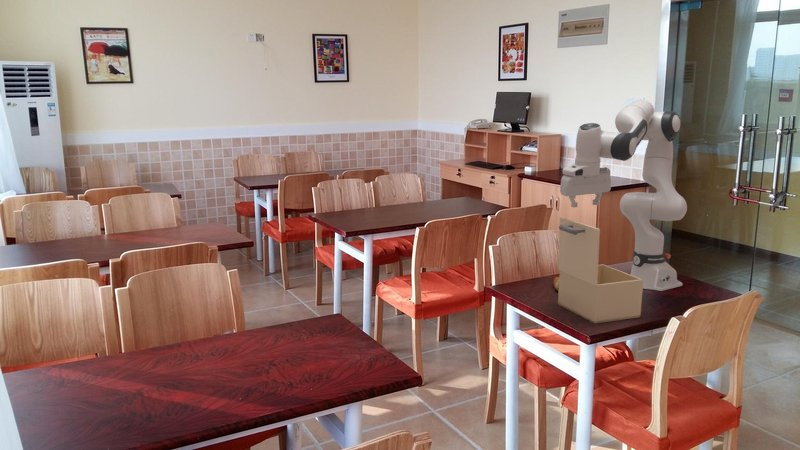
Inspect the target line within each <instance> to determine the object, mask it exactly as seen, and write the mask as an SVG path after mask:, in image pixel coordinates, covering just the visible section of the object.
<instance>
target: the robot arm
mask: <svg viewBox="0 0 800 450" xmlns="http://www.w3.org/2000/svg"><path fill="white" fill-rule="evenodd" d="M681 122H682V121H681V117H680V115H679V114H678V113H677V112H675V111H671V110H666V111H655V108H654V105H653V104H652V103H651V102H650V101H648V100H645V99H639V100H635V101H634V102H632V103H629V104H627V105H626V106H625V107H623V108H622V109H621V110H620V111H619V112H617V114H616V116H615V120H614V124H615V128H616V130H617V132H615V131H604V130H603V129H602V127H601V124H599V123H596V122H590V123H589V122H588V123H584V124H581V125H579V127H578V129H577V135H576V139H575V140H576V141H575V152H576V156H575V158H574V163H572V164H570V165H568V166H565V167H563V169H562V170H561V171H562V174H563V175H562V177H561V180H560V186H559V187H560V188H559V189H560V190H559V192H560V194H561V196H564V197H568V199H569V200H570V203H571V204H570V205H571V208H573V209H574V208H578V204H579V203H578V202H577V201H576V200H575V199H576V198H577V197H576V196H585V195H592V194H593V195H595V197H594V199H592V206H599V204H600V200H601V198H602V197H603V194H605V193H609V192H610V191H611V189H612V181H611V180H612V178H611V170H610V169H609V168H608V166H607V167H606V166H605V167H604V166H603V167H601V158H602V159H613V160H618V161H623V162H626V161H628V160H629V159H631V158H632V157H633V156H634V155H635V152H636V150H637V148H638V147H639V145H640V143H642V141H647V142H648V143H647V145H646V149H645V153H644V158H643V167H642V173H641V177H642V179H643V181H644V182H646V183H647V184H648V185H650V186H652V187H653V188H654V189H656V192H643V191H632V192H625V194H623V195H622V196H621V199H620V201H619V210H620V212H621V213H622V215H623V216H624V217H626V218H627V219H628V220H629V222H630V223H631V226H632V227H633V230H634V238H635V239H634V250H633V253H632V265H631V271H630V273H629V274H630V275H632V276H635V277H638V278H640V279H643V280H644V281H643V290H653V291H659V292H663V291H666V290H667V291H668V290H671V289H674V288H675V289H676V288H678V287H682V286H683V282H681V281H680V280H678V273H677V270H676V269H675V268H674V267H673V266H672V265H670V264H669V263H668V262H667V261H666V259H668V260H669V259H671V257H672V255H671V254H670V253H668V252H667V253H664V244H665V235H664V233H663V232H662V231H661V230H660V229H658V228H657V227H656V226H653V225H652V224H651V222H650V220H651V221H652V220H653V221H654V220H655V221H662V222H663V221H664V222H675V221H680V220H682V219H683V218H684V217H685V215H686V213H687V211H688V204H687V201H686V200H685V198H684V196H682V195H681V194H679V193H678V191H677V190H676V188H675V187H674V184H673V180H672V177H673V176H672V172H673V163H674V162H673V161H674V143H673V141H674V139H675V138H676V137H677V135H678V134H679V133H680V132H681V131H680V130H681V124H682V123H681Z"/></svg>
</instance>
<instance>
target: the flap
mask: <svg viewBox="0 0 800 450" xmlns="http://www.w3.org/2000/svg"><path fill="white" fill-rule="evenodd" d="M558 229H559V232H558V260H557V263H558V264H557V270H559V271H560V270H561V271H563V272H565V273H568V274H570V275H572V276H574V277H577V278H579V279H581V280H584V281H586V282H588V283H590V284H593V285H595V286H597V282H598V265H599V257H600V238H601V228H598V227H595V226H592V225H588V224H586V223H583V222H579V221H575V220H573V219H568V218H565V217H563V216H559V226H558Z"/></svg>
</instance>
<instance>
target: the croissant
mask: <svg viewBox="0 0 800 450" xmlns="http://www.w3.org/2000/svg"><path fill="white" fill-rule="evenodd" d="M559 278H560V276H555V277H554V278H553V287H554V289H555V290H556V291H558V292H559Z"/></svg>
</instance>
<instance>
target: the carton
mask: <svg viewBox="0 0 800 450" xmlns="http://www.w3.org/2000/svg"><path fill="white" fill-rule="evenodd" d="M559 277H560V278H559V291H558V294H557V295H558V297H557V306H560V307H562V308H564V309H566V310H568V311H569V312H571V313H573V314H575V315H577V316H579V317H581V318H583V319H585V320H587V321H588V320H589V321H588V322H590V323H593V324H603V323H609V322H616V321H623V320H627V319H636V318H641V313H642V301H643V291H644V289H643V281H644V280H643V279H640V278H638V277H635V276H632V275H630V273H627V272H625V271H622V270H619V269H617V268H614V267H611V266H609V265H606V264H598V282H597V286H595V285H593V284H590V283H588V282H586V281H584V280H581V279H579V278H577V277H574V276H572V275H570V274H568V273H565V272H563V271H561V270H559Z"/></svg>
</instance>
